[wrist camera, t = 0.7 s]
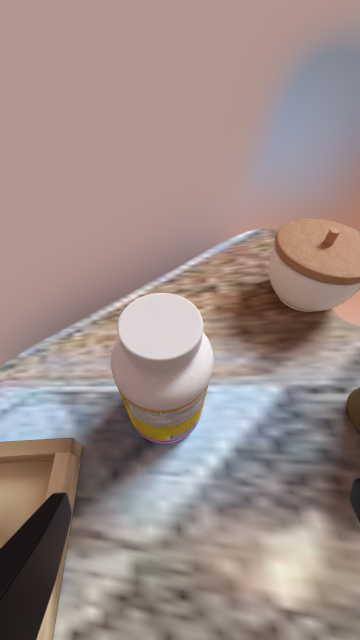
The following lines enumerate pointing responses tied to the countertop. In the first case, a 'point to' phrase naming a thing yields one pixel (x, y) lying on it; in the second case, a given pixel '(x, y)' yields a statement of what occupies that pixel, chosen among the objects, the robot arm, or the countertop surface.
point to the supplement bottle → (162, 365)
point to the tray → (37, 494)
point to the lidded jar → (315, 264)
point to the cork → (354, 408)
